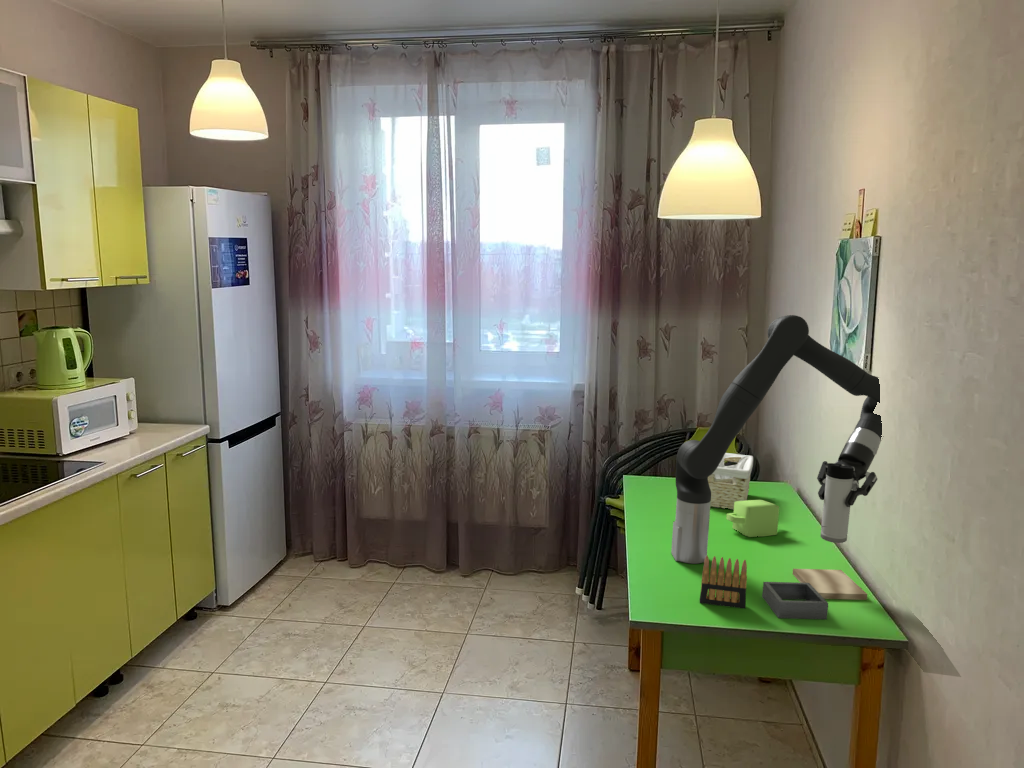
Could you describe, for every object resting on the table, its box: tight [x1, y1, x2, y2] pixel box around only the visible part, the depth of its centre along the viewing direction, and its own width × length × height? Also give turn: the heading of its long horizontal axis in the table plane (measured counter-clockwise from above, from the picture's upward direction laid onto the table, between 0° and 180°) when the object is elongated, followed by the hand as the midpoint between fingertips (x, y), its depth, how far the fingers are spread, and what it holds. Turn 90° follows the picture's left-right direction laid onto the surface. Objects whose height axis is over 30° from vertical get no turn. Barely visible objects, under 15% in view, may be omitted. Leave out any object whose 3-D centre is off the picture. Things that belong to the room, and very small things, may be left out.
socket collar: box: [761, 581, 829, 620], centre depth 181 cm, size 11×11×4 cm
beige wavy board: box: [792, 568, 868, 601], centre depth 194 cm, size 13×15×2 cm
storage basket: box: [708, 452, 754, 510], centre depth 263 cm, size 24×16×15 cm
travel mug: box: [820, 462, 854, 544], centre depth 190 cm, size 6×7×20 cm
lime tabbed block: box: [726, 499, 780, 538], centre depth 233 cm, size 18×10×10 cm, turn 109°
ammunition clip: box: [699, 555, 748, 609], centre depth 181 cm, size 11×2×12 cm, turn 77°
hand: (833, 501), depth 189 cm, fingers closed on travel mug, 6 cm apart
